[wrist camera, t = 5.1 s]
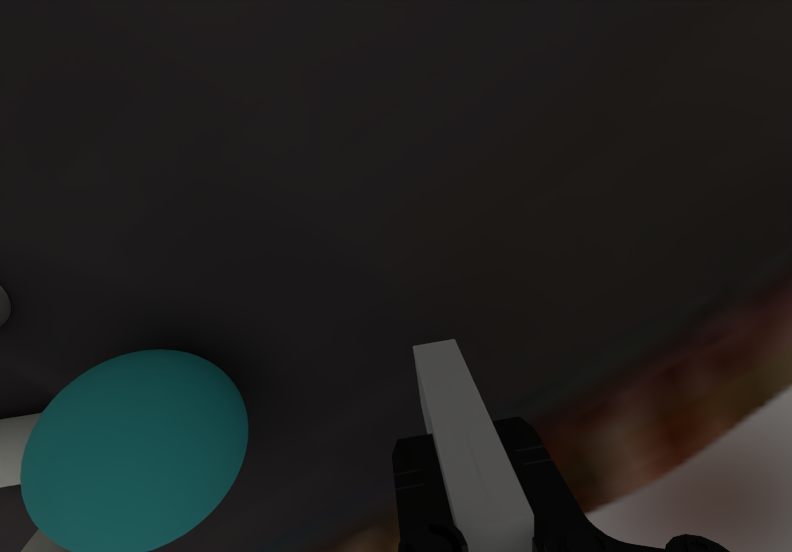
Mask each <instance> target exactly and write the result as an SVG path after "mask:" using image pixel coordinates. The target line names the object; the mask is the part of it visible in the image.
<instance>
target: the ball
mask: <svg viewBox="0 0 792 552" xmlns="http://www.w3.org/2000/svg"><path fill="white" fill-rule="evenodd" d="M247 442H248V418H247V412H246V408H245V405H244V401H243V399H242V396H241V394H240V392H239V390H238V389H237V387H236V386H235V384H234V383H233V381H232V380H231V379H230V378H229V377H228V376H227V375H226V374H225V373H224V372H223V371H222V370H221V369H220V368H218V367H217V366H215V365H214V364H213V363H211V362H210V361H207V360H205V359H203V358H201V357H199V356H196V355H193V354H190V353H187V352H182V351H176V350H163V349H157V350H144V351H138V352H132V353H128V354H125V355H121V356H118V357H115V358H113V359H110V360H108V361H105V362H103V363H101V364H99V365H97V366H95V367H93V368H91V369H89V370H88V371H86V372H85V373H83V374H82V375H80V376H79V377H77V378H76V379H75V380H73V381H72V382H71V383H70V384H69V385H67V386H66V387H65V388H64V389H63V390H62V391H61V392H60V393H59V394H58V395H57V396H56V397H55V398H54V399H53V400H52V401H51V402H50V403H49V405H48V406H47V407H46V409H45V410H44V411H43V413H42V414H41V415H40V417H39V419H38V420H37V422H36V424H35V426H34V427H33V429H32V431H31V434H30V436H29V438H28V441H27V443H26V446H25V449H24V453H23V457H22V461H21V473H20V482H21V492H22V497H23V500H24V503H25V506H26V509H27V511H28V514H29V515H30V517H31V519H32V521H33V522H34V523H35V525H36V526H37V527H38V528H39V529H40V531H41V532H42V533H43V534H44V535H45V536H46V537H48V538H49V539H51V540H52V541H53V542H55V543H56V544H57V545H59V546H61V547H63V548H66V549H68V550H70V551H72V552H147V551H150V550H153V549H156V548H158V547H161V546H163V545H165V544H168V543H170V542H172V541H173V540H175V539H177V538H179V537H180V536H182V535H184V534H185V533H187V532H188V531H190V530H191V529H192V528H194V527H195V526H197V525H198V524H199V523H200V522H201V521H202V520H204V519H205V518H206V517H207V516H208V515H209V514H210V513H211V512H212V511H213V510H214V509H215V508H216V506H217V505H218V504H219V503H220V502H221V501H222V499H223V498H224V497H225V495H226V494H227V492H228V491H229V490H230V488H231V486H232V484H233V483H234V481H235V479H236V477H237V475H238V473H239V470H240V468H241V466H242V463H243V459H244V456H245V453H246V448H247Z"/></svg>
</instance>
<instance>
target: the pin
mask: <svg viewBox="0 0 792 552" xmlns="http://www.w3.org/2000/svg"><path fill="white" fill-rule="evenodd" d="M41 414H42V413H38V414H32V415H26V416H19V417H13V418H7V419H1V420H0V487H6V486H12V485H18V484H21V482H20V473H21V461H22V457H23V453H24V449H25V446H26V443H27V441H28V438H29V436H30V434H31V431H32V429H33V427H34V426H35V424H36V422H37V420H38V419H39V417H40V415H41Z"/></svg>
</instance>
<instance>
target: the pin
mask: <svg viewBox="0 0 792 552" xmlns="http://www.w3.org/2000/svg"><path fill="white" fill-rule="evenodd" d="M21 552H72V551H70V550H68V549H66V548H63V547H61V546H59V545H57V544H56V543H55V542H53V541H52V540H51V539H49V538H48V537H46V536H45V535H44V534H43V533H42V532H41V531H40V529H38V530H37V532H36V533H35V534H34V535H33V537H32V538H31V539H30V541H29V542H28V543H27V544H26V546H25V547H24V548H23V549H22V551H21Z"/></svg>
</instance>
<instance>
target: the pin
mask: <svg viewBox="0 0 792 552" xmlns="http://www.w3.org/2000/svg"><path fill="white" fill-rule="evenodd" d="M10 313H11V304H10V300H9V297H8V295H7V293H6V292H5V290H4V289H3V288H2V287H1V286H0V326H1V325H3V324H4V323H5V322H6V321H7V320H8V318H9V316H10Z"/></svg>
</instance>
